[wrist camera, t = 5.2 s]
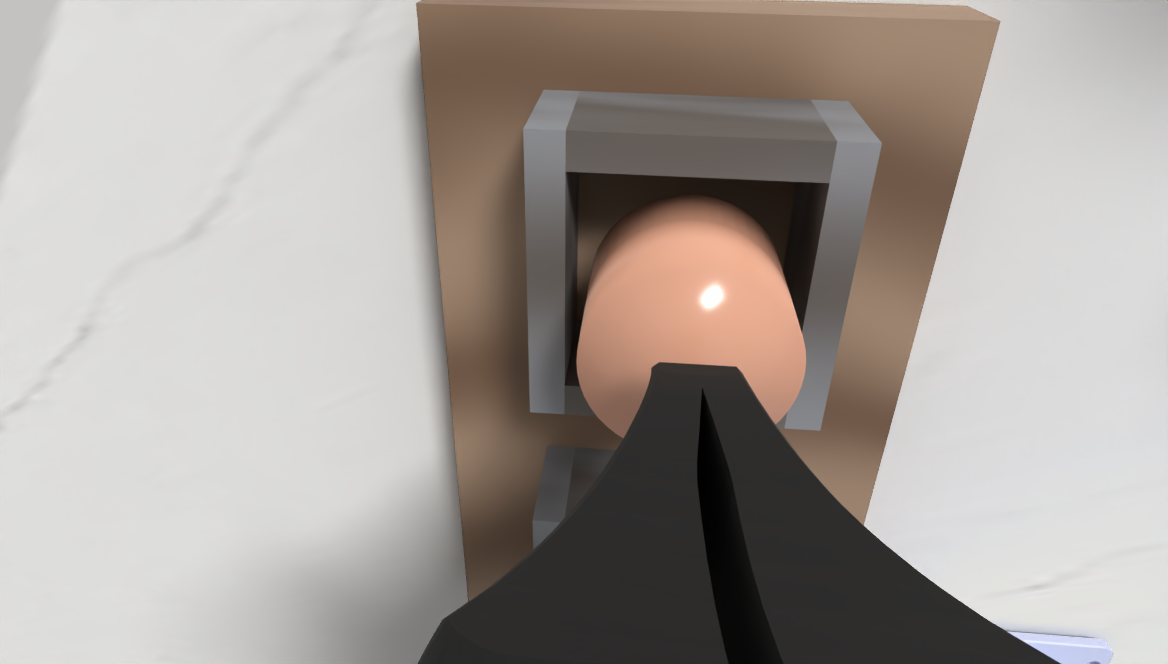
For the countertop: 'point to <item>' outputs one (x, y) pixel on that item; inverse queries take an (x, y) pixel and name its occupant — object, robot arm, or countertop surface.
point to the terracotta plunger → (687, 306)
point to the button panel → (668, 168)
